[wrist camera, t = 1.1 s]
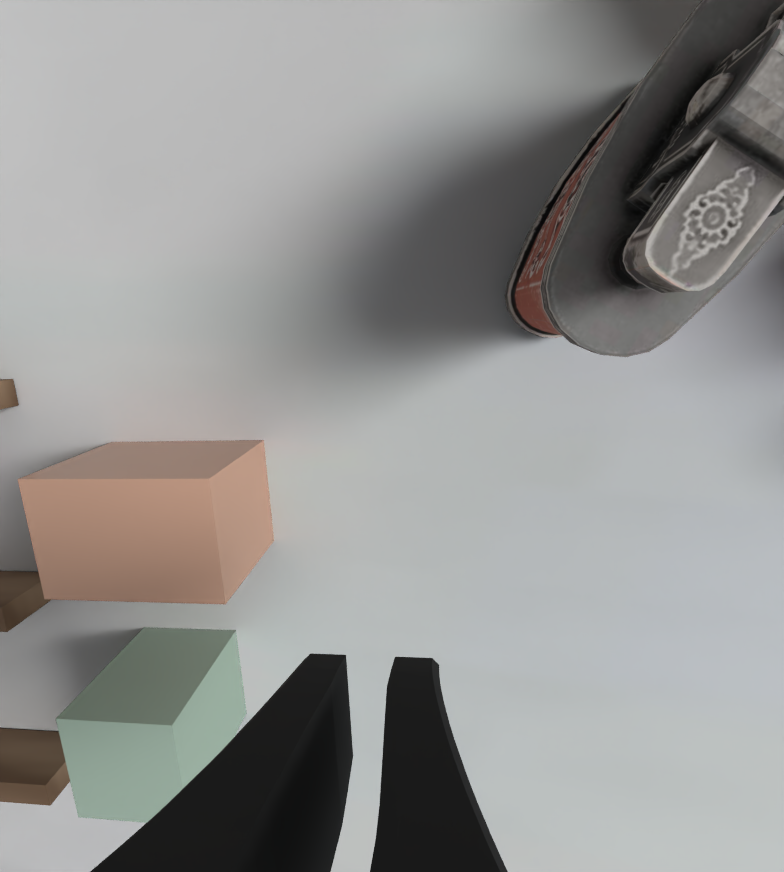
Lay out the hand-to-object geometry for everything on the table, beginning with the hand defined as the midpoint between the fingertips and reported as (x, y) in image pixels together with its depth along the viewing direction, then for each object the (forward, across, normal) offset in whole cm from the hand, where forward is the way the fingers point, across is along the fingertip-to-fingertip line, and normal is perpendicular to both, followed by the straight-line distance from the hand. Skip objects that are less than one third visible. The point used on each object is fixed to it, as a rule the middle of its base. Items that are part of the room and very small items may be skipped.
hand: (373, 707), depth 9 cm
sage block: (+10, +10, +8) cm, 16 cm away
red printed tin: (+11, -6, -9) cm, 15 cm away
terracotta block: (+11, +8, 0) cm, 14 cm away
